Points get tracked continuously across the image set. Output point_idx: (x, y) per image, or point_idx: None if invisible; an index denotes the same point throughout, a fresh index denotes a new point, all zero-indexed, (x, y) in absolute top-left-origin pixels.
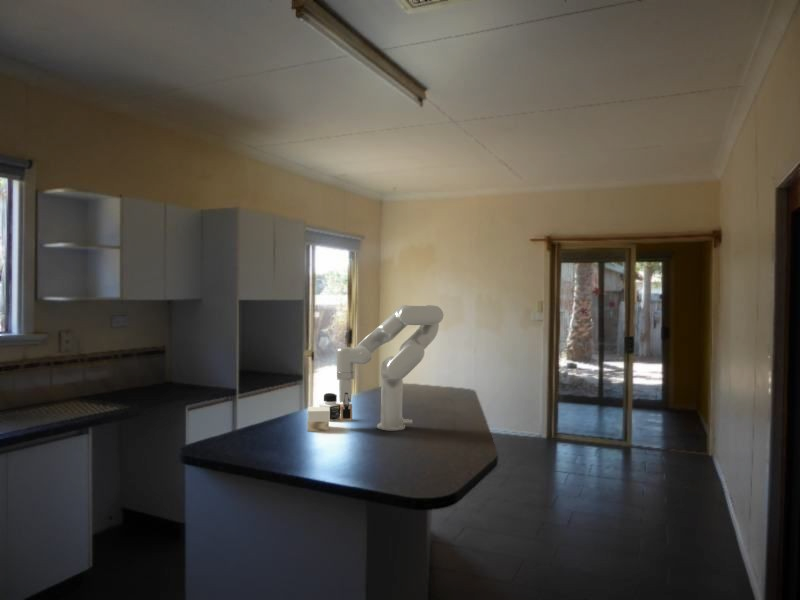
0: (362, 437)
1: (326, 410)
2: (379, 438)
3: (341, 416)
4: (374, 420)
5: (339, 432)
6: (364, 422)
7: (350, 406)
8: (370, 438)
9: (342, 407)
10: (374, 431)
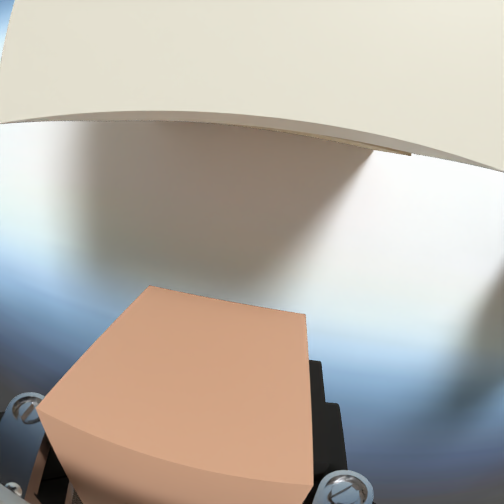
0: (17, 330)
1: (42, 51)
2: (24, 388)
3: (125, 317)
4: (413, 474)
5: (107, 218)
6: (397, 440)
7: (86, 502)
8: (13, 356)
9: (54, 421)
10: None
